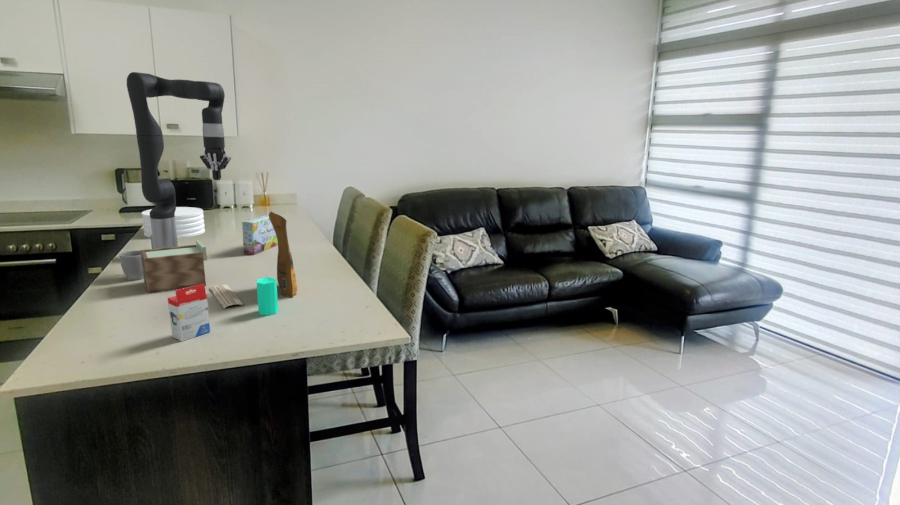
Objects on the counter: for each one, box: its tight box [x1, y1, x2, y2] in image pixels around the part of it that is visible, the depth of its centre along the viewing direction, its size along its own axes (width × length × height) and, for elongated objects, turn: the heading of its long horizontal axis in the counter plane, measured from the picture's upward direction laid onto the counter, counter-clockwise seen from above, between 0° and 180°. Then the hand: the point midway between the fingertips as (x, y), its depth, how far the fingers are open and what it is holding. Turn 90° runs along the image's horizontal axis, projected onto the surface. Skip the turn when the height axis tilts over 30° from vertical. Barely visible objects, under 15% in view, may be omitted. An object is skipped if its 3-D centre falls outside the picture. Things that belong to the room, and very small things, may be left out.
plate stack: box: [141, 206, 206, 239], centre depth 260 cm, size 28×28×12 cm
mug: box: [118, 250, 144, 281], centre depth 187 cm, size 12×9×10 cm
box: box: [139, 244, 207, 294], centre depth 180 cm, size 18×14×12 cm
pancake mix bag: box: [268, 210, 298, 298], centre depth 175 cm, size 7×19×28 cm, turn 27°
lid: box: [146, 239, 208, 262], centre depth 179 cm, size 18×12×5 cm, turn 126°
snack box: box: [241, 214, 278, 256], centre depth 232 cm, size 21×6×15 cm, turn 168°
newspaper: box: [209, 284, 244, 310], centre depth 170 cm, size 24×7×2 cm, turn 35°
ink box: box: [167, 284, 211, 342], centre depth 138 cm, size 8×5×15 cm, turn 145°
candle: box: [256, 275, 279, 316], centre depth 157 cm, size 6×6×12 cm
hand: (217, 179), depth 200 cm, fingers closed
